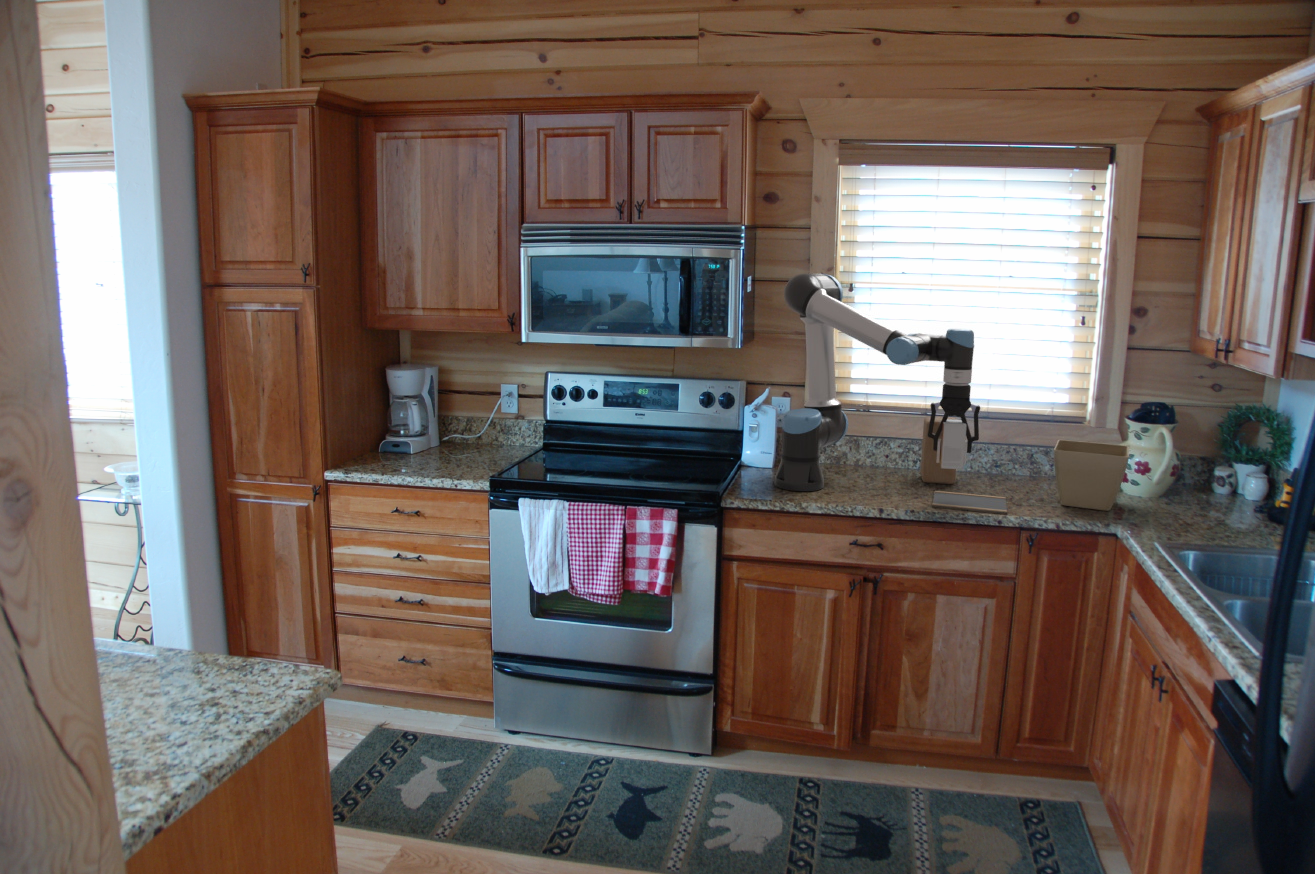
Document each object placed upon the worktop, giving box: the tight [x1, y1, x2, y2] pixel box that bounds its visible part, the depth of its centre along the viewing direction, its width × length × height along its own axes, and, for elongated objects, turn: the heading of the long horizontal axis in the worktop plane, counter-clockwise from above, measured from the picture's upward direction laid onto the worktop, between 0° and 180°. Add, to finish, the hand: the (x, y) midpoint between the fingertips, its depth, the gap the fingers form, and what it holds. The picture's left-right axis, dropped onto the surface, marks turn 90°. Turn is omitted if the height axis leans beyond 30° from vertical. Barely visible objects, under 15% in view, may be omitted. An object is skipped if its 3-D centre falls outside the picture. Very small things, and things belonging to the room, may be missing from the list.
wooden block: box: [919, 415, 958, 485], centre depth 283 cm, size 10×10×20 cm
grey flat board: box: [931, 490, 1008, 515], centre depth 257 cm, size 20×16×1 cm
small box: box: [939, 419, 967, 470], centre depth 256 cm, size 8×6×13 cm
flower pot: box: [1053, 439, 1130, 512], centre depth 257 cm, size 19×19×17 cm
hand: (951, 462), depth 257 cm, fingers closed on small box, 7 cm apart
